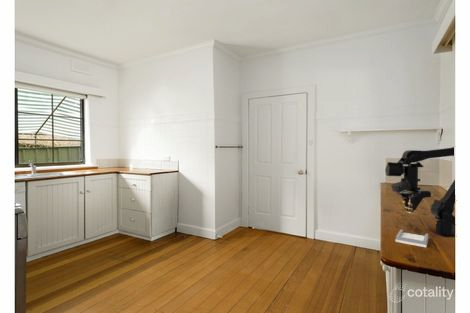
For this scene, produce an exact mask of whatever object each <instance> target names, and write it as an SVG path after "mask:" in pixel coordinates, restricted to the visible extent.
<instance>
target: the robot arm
mask: <svg viewBox="0 0 470 313" xmlns="http://www.w3.org/2000/svg"><path fill="white" fill-rule="evenodd" d="M454 147H455V146H452V147H445V148H438V149H437V148H436V149H429V150H428V149H427V150H417V149H416V150H415V149H414V150H413V149H412V150H411V149H410V150H409V149H408V150H405V151H403V153H402V155H401V156H402V157H401V158H400V159H399V160H398V161H397V162H392V161H387V163H386V166H385V169H384V170H385V175H386V176H387V177H401V176H402V175H403V177H402V178H401V179H400V181H397V182H395V183H392V184H391V185H390V186H391V189H392V192H395V193H397V194H398V195H399V196H400V197H401V198H402V200H403V198H407V199H408V200H409V199H410V198H411V199H412V203H411V206H412V209H411V210H414V211H416V210H417V208H418V207H419V205H420V204H421V202H422V201H423V199H425V198H432V192H431V191H430V190H427V189H421V187H419V182H421V178H419V168H424V165H423V164H421V162H422V161H424V160H428V159H434V158H445V157H454ZM409 197H410V198H409ZM407 199H404V200H405V201H406V203H403V205H404V208H405V207H406V206H405V205H406V204H407ZM455 204H456V202H455V179H454V180H453V182H452V183H451V184H450V186H449V188H448V189H447V190H446V192H445V193H444V195H443V197H442V198H440V199H439V200H438V199H434V201H433V203H432V204H431V205H430V213H431V214H432V215H433V216H434V218H435V220H436V223H435V230H434V231H433V233H435V234H437V235H439V236H442V237H444V238H445V237H447V238H448V237H449V238H450V236H452V237H453V238H454V237H455V234H456V224H455V217H456V216H454V215H453V213H454V210H455ZM407 206H409V204H407ZM455 238H456V237H455Z"/></svg>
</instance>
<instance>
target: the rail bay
mask: <svg viewBox="0 0 470 313" xmlns="http://www.w3.org/2000/svg"><path fill="white" fill-rule="evenodd" d="M395 242H396V243H402V244H404V245H405V244H406V245H411V246H416V247H422V248H427V246H428V243H429V233H425V234H424V235H421V234H416V233H415V234H414V233H409V232H404V229H401V228H400V229H399V231H398V233H397V234H396V236H395Z"/></svg>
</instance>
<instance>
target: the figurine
mask: <svg viewBox="0 0 470 313" xmlns="http://www.w3.org/2000/svg"><path fill="white" fill-rule="evenodd" d="M409 198H410V197H409ZM404 199H407V198H403V199H402V203H403V204H404V203H406V201H405V200H404ZM407 204H409V206H407ZM407 204H406V205H404V208H405V209H406V211H405V212H406V213H408V214H415V210H413V209H412V199H411V198H410V199H409V200H408V199H407ZM405 206H406V207H405Z"/></svg>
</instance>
